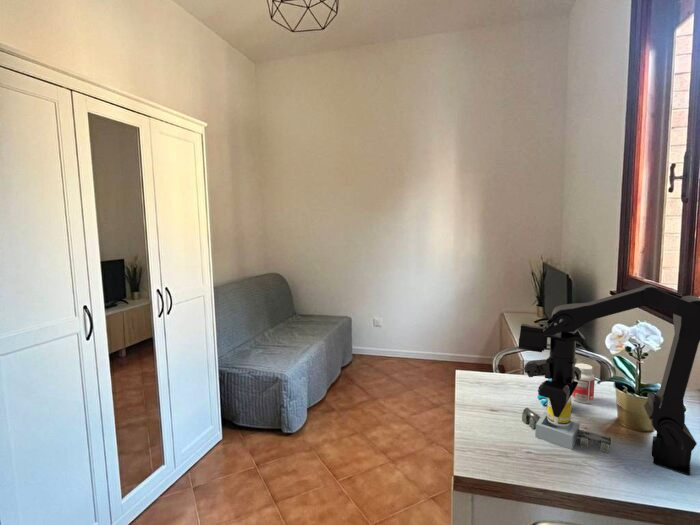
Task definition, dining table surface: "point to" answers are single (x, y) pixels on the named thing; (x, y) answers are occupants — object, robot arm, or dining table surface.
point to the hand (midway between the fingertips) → (559, 412)
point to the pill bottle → (584, 385)
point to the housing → (557, 432)
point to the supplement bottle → (564, 416)
